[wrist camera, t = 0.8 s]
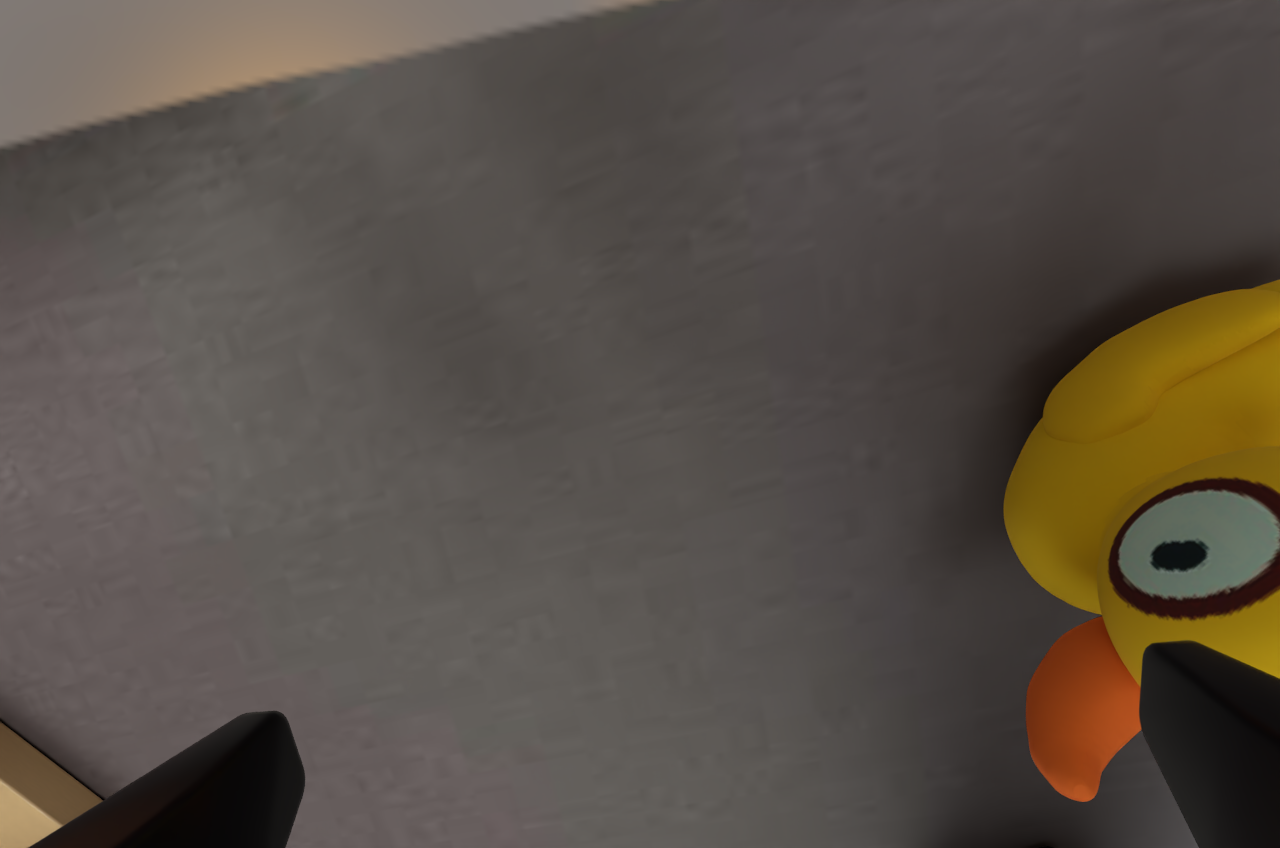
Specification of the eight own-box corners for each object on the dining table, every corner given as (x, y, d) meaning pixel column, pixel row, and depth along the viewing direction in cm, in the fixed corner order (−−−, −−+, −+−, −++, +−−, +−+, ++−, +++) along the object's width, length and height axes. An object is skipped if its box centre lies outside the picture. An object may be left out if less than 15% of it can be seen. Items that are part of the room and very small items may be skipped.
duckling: (988, 621, 24) (1181, 946, 14) (865, 496, 23) (987, 761, 13) (1366, 351, 21) (1931, 543, 11) (1244, 191, 20) (1755, 257, 10)
